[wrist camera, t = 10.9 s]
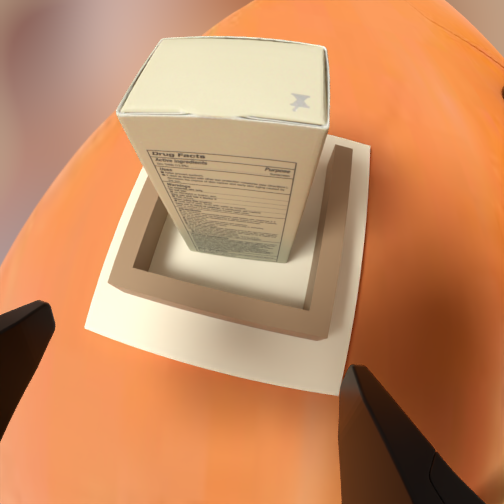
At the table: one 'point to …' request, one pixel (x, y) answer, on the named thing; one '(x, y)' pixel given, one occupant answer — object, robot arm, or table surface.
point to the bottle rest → (243, 286)
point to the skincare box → (231, 138)
